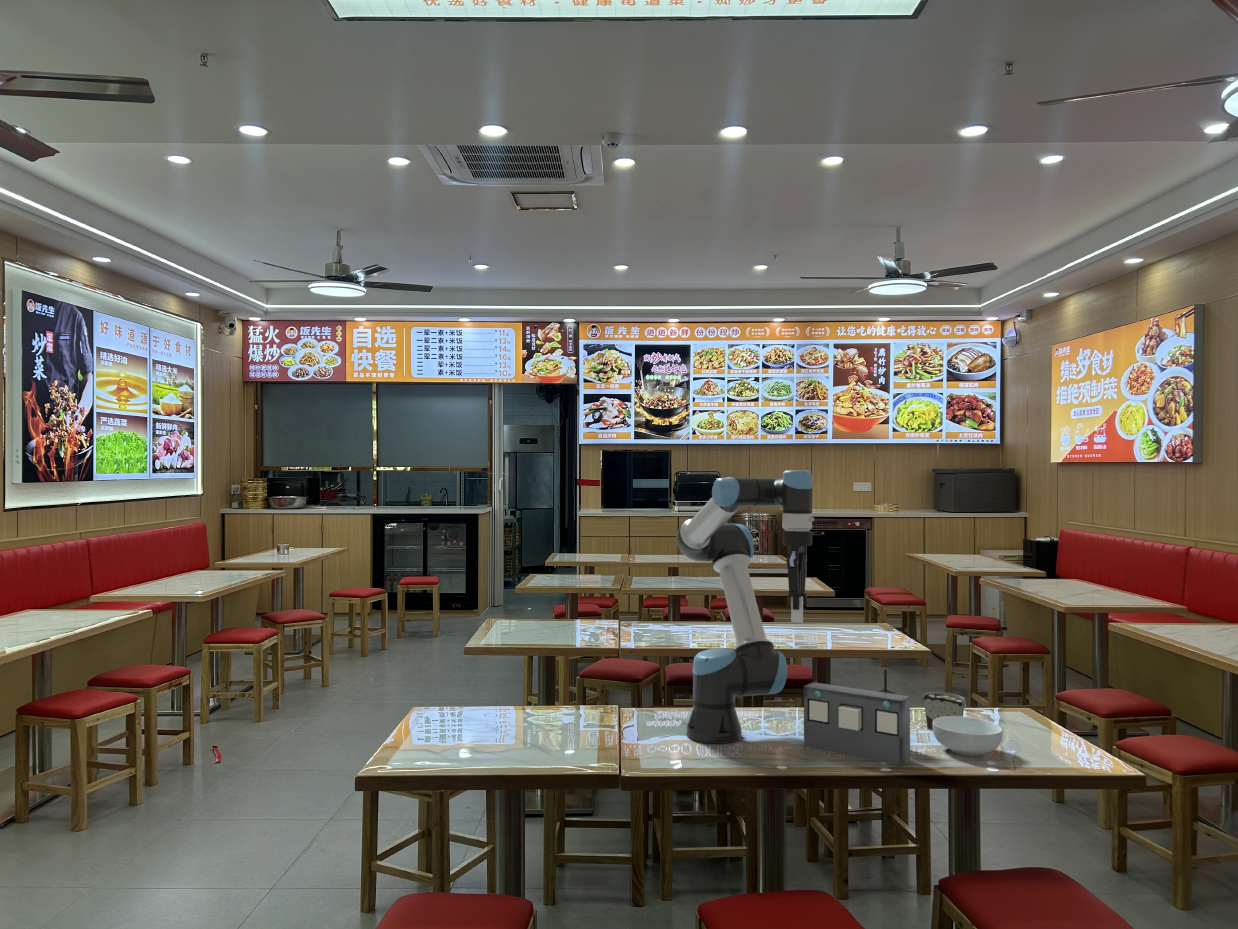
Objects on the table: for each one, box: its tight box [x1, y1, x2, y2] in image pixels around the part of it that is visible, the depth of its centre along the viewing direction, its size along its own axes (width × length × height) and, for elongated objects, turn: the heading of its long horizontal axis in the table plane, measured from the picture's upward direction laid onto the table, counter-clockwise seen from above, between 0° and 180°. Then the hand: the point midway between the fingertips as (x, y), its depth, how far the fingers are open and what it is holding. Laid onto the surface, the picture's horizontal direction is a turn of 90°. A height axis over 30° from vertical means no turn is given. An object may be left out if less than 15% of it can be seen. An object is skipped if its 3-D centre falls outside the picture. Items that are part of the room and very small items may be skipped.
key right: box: [877, 710, 899, 734], centre depth 209 cm, size 4×5×5 cm
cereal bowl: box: [932, 715, 1003, 757], centre depth 217 cm, size 17×17×7 cm
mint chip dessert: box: [921, 691, 968, 731], centre depth 237 cm, size 12×6×10 cm, turn 47°
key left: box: [809, 699, 829, 722], centre depth 220 cm, size 4×5×5 cm
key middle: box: [839, 704, 863, 731], centre depth 212 cm, size 4×5×5 cm
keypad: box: [803, 681, 911, 767], centre depth 215 cm, size 6×26×16 cm, turn 55°
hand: (797, 622), depth 213 cm, fingers closed
